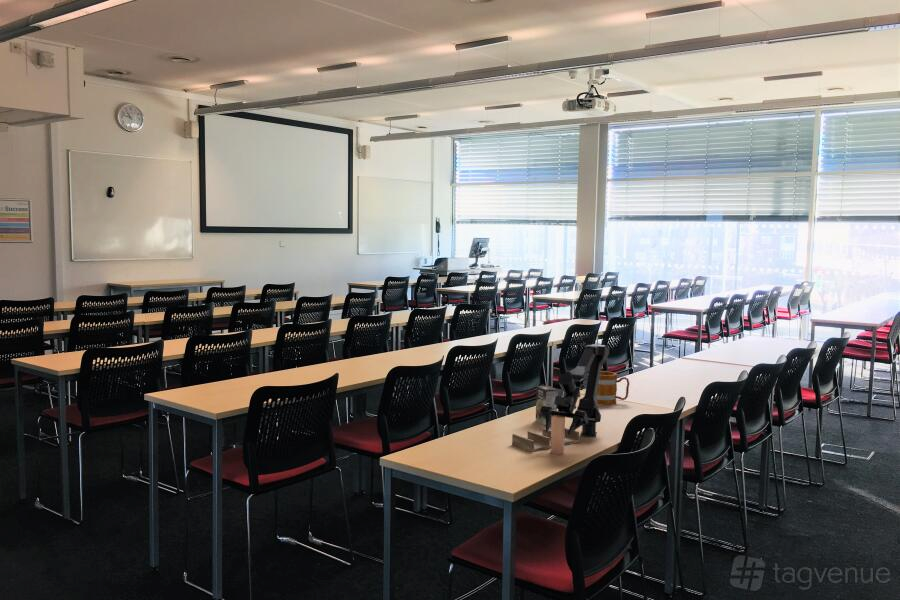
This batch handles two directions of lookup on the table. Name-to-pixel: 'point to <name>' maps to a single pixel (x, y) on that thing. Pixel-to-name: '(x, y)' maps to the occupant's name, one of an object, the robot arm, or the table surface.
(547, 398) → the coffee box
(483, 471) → the table surface
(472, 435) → the table surface
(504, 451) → the table surface
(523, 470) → the table surface
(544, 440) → the rack
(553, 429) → the wooden block
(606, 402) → the mug
